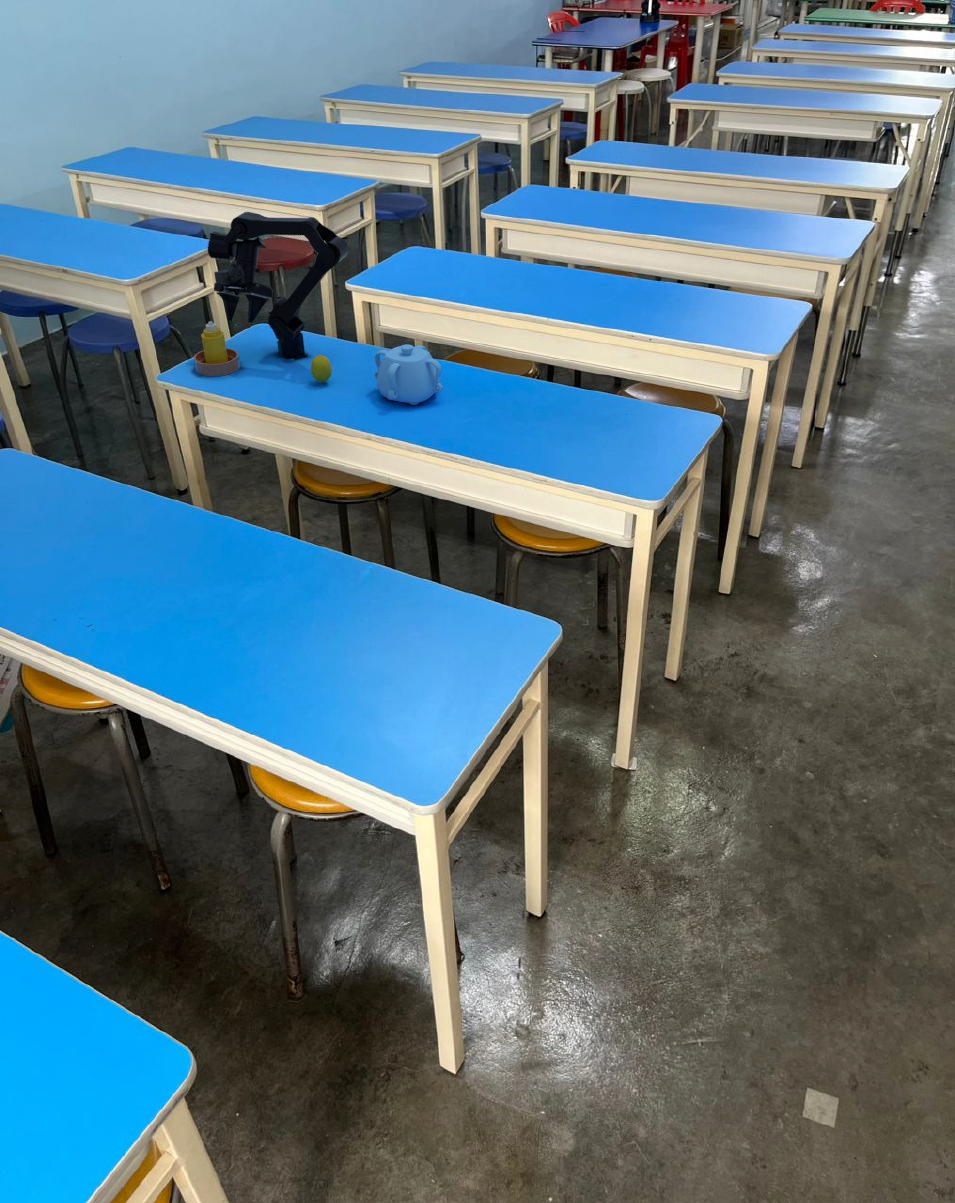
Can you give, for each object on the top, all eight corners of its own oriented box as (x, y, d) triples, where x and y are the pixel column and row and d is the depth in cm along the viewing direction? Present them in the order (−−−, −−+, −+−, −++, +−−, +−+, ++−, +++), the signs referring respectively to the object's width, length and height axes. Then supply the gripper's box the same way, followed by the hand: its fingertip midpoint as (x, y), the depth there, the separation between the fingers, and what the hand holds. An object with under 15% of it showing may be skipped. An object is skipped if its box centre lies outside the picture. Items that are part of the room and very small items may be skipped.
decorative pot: (433, 381, 256) (432, 332, 248) (445, 405, 243) (444, 355, 235) (374, 386, 253) (371, 337, 245) (383, 411, 240) (380, 360, 232)
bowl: (229, 358, 268) (227, 344, 265) (247, 372, 260) (245, 358, 257) (189, 367, 262) (187, 353, 260) (206, 382, 254) (203, 368, 252)
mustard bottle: (223, 361, 264) (216, 316, 256) (232, 368, 260) (225, 322, 252) (203, 366, 261) (195, 320, 253) (212, 373, 257) (204, 327, 249)
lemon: (329, 388, 251) (326, 359, 247) (309, 386, 252) (306, 358, 248) (335, 380, 256) (333, 351, 251) (316, 378, 257) (313, 350, 252)
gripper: (200, 255, 254) (194, 314, 257) (243, 256, 243) (236, 318, 246) (234, 264, 263) (228, 321, 266) (277, 266, 252) (270, 325, 254)
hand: (239, 321), depth 258 cm, fingers open, 9 cm apart
